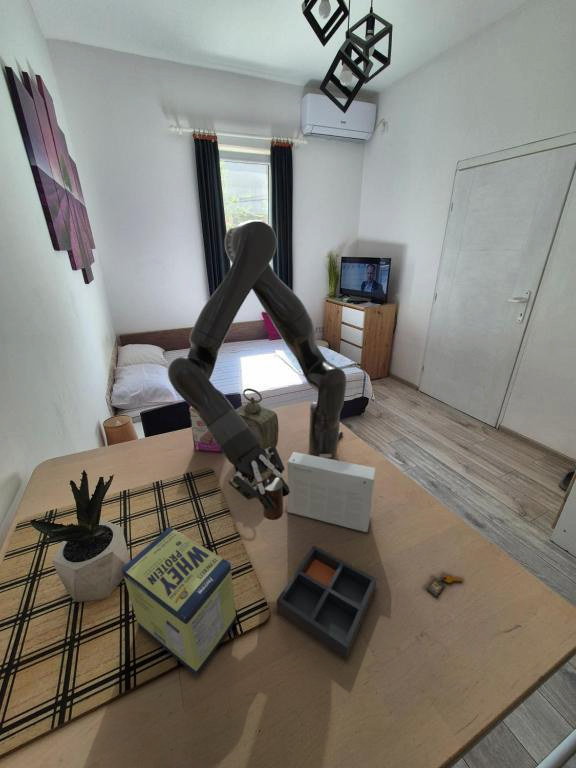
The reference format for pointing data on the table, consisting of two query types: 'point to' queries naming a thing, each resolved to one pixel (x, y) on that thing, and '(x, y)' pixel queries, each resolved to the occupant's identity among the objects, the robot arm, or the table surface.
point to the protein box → (182, 597)
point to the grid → (327, 599)
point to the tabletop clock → (260, 421)
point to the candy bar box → (201, 434)
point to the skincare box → (330, 490)
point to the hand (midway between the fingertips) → (280, 501)
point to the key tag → (440, 584)
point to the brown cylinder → (274, 497)
